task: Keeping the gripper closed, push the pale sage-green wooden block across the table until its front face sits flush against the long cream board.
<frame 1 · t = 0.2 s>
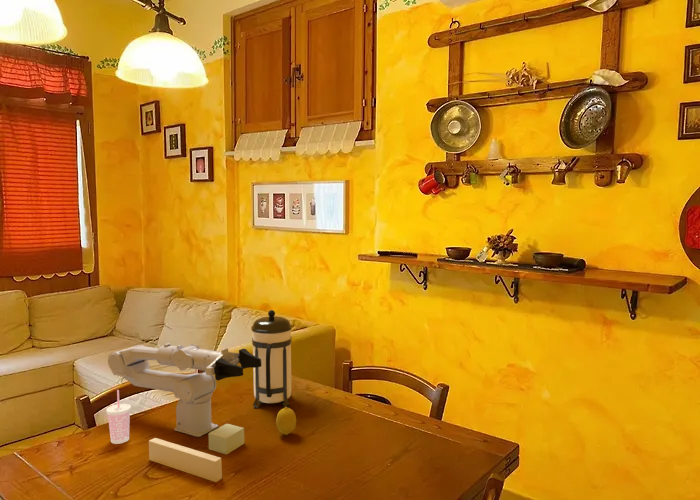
hand: (251, 367, 140), 21 cm above the table, tool horizontal, fingers open, 7 cm apart
lemon: (286, 435, 147), on the table
coffee press: (273, 403, 170), on the table
board: (184, 468, 129), on the table
block: (226, 446, 141), on the table
beverage cup: (120, 440, 144), on the table
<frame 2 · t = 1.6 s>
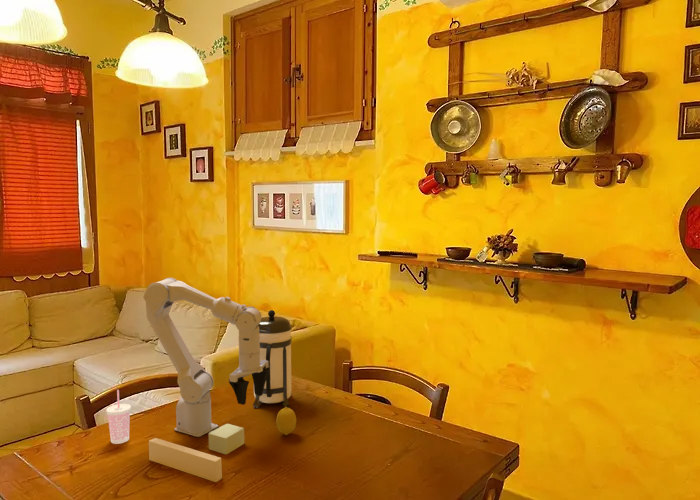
hand: (250, 399, 149), 9 cm above the table, tool pointing down, fingers open, 7 cm apart
nothing on the table moved.
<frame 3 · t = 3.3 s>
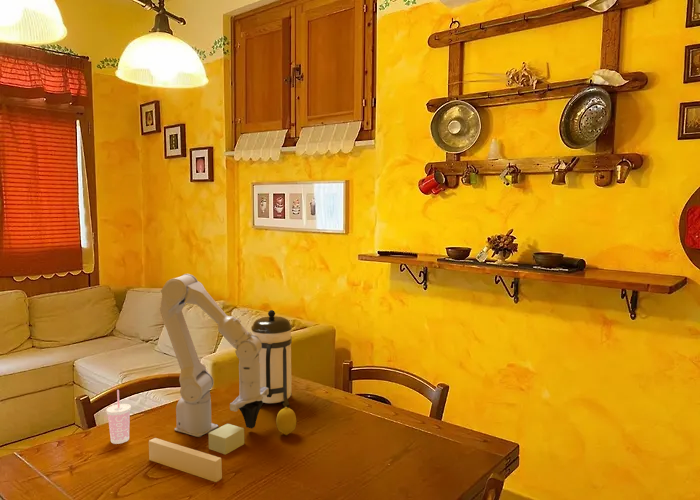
hand: (250, 427, 149), 1 cm above the table, tool pointing down, fingers closed
nothing on the table moved.
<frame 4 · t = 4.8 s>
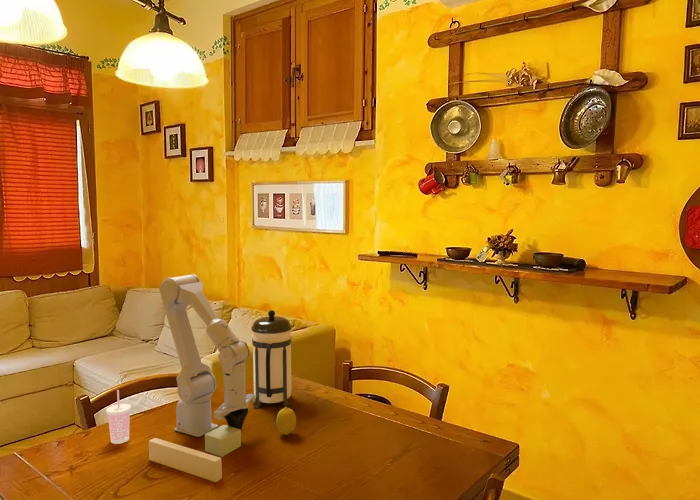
hand: (235, 435, 144), 1 cm above the table, tool pointing down, fingers closed
block: (223, 448, 139), on the table, touching gripper
everything else where it was.
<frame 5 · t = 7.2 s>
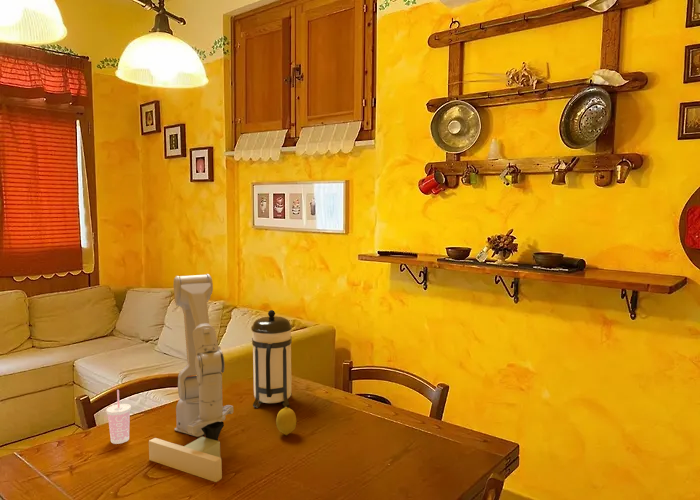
hand: (212, 449, 136), 1 cm above the table, tool pointing down, fingers closed, pressing on block
block: (201, 461, 132), on the table, touching board, gripper
everything else where it was.
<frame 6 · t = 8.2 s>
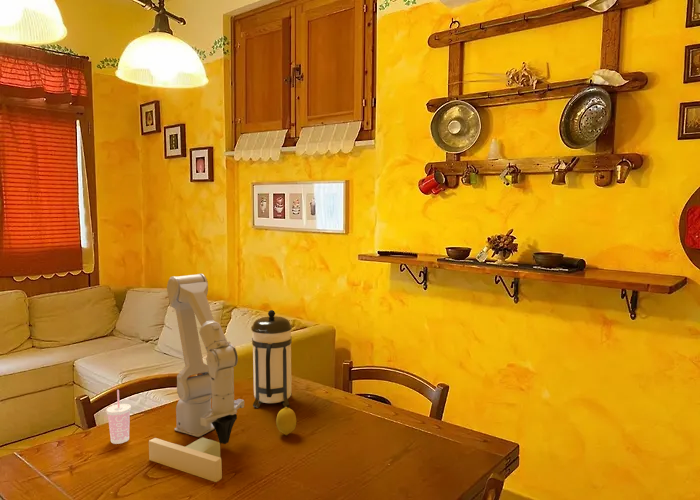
hand: (224, 442, 140), 1 cm above the table, tool pointing down, fingers closed
block: (201, 462, 132), on the table
everything else where it was.
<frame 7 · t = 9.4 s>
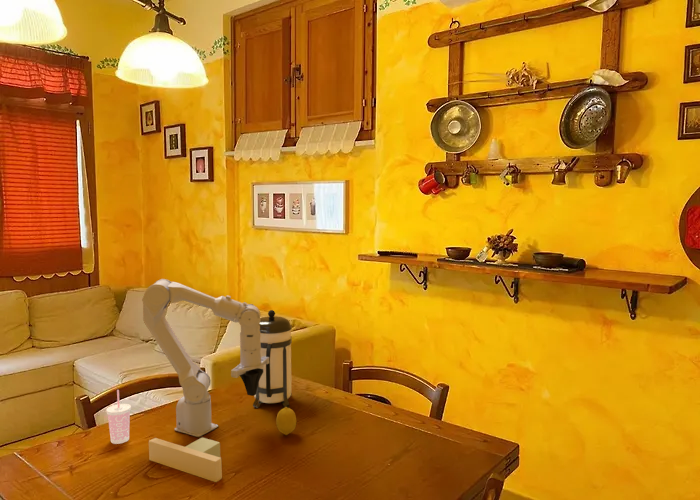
hand: (251, 394, 152), 9 cm above the table, tool pointing down, fingers closed
nothing on the table moved.
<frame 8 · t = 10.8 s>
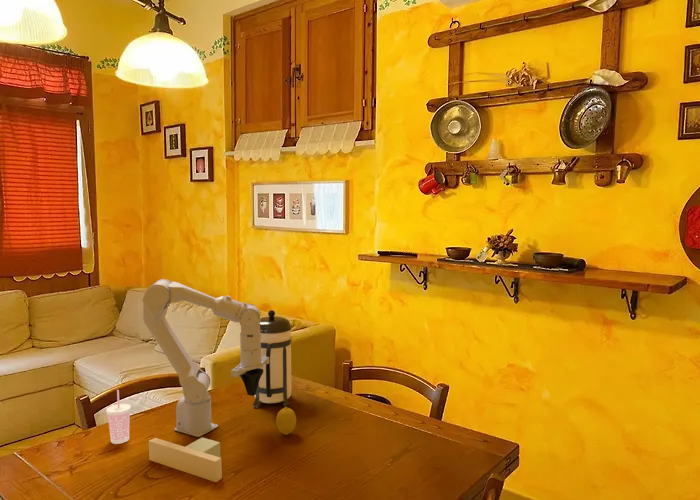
hand: (251, 394, 152), 9 cm above the table, tool pointing down, fingers closed
nothing on the table moved.
at the end: block 0.3 cm from the target spot on the table beside the board, on the table; block tilted 0° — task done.
